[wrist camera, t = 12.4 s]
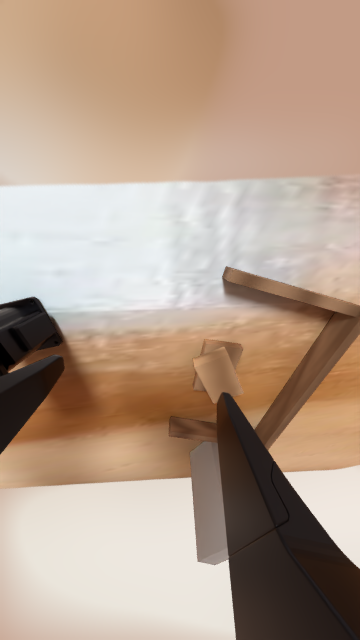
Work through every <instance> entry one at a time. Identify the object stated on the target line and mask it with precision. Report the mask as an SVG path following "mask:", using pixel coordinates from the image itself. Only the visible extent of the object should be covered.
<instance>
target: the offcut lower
mask: <svg viewBox="0 0 360 640" xmlns="http://www.w3.org/2000/svg"><path fill="white" fill-rule="evenodd" d="M221 347H225V349H226V351H227V353H228V355H229V358H230V360H231V362H232V365H233V367H234V370H235V369H236V367H237V364H238V361H239V359H240V356H241V353H242V351H243V347H242V346H241V344H238V343H231V342H223V341H216V340H208V339H204V343H203V347H202V351H201V354H200V356H201V355H203V354H206V353H208V352H211V351H214V350H216V349H219V348H221ZM193 389H194V390H197V391H206V389H205V387H204V385H203V383H202V381H201V379H200V377H199V376H198V374H197V372H196V374H195V377H194V381H193Z"/></svg>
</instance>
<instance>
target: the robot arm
mask: <svg viewBox="0 0 360 640" xmlns="http://www.w3.org/2000/svg"><path fill="white" fill-rule="evenodd" d="M32 300H33V301H34V303H33V302H32ZM57 341H58V342H57ZM61 343H62V339H61V338H60V336H59V334H58V333H57V331H56V329H55V328H54V326H53V324H52V322H51V321H50V319H49V317H48V316H47V314H46V312H45V311H44V309H43V307H42V306H41V304H40V302H39V301H38V299H37V298H35V297H29V298H25V299H21V300H17V301H13V302H8V303H4V304H0V454H1V453H2V452H3V451H4V449H5V448H6V447H7V446H8V444H9V443H10V442H11V441H12V439H13V438H14V437H15V436H16V434H17V433H18V432H19V431H20V429H21V428H22V427H23V426H24V424H25V423H26V422H27V421H28V419H29V418H30V417H31V416H32V414H33V413H34V412H35V411H36V409H37V408H38V407H39V406H40V404H41V403H42V402H43V401H44V399H45V398H46V397H47V395H48V394H49V392H50V391H51V389H52V388H53V386H54V385H55V383H56V382H57V380H58V379H59V377H60V376H61V374H62V373H63V371H64V367H65V366H64V360H63V357H62V356H59V355H52V356H50V357H47V358H45V359H42V360H40V361H38V362H35V363H33V364H30V365H28V366H25V367H23V368H21V369H18V370H16V371H13V372H11V373H8V372H9V371H10V370H11V369H13V368H14V367H15V366H16V365H18V364H19V363H20V362H22V361H23V360H24V359H25V358H27V357H28V356H29V355H31V354H32V353H33V352H34V351H36V350H41V349H45V348H50V347H54V346H59V345H60V344H61ZM217 443H218V454H219V464H220V475H221V485H222V495H223V506H224V516H225V527H226V537H227V547H228V556H229V558H228V559H229V569H230V580H231V590H232V601H233V611H234V622H235V632H236V640H360V569H359V568H358V567H357V566H356V565H355V564H354V563H353V562H351V561H350V559H349V558H347V556H346V555H345V554H344V553H343V552H342V551H341V550H340V549H339V548H338V546H337V545H336V544H335V543H334V541H333V540H332V539H331V538H330V537H329V535H328V534H327V532H326V531H325V530H324V528H323V527H322V526H321V524H320V523H319V522H318V520H317V519H316V518H315V516H314V515H313V514H312V513H311V511H310V510H309V508H308V507H307V506H306V504H305V503H304V502H303V501H302V499H301V498H300V496H299V495H298V494H297V492H296V491H295V490H294V488H293V487H292V486H291V484H290V483H289V481H288V480H287V479H286V477H285V476H284V474H283V473H282V471H281V470H280V468H279V467H278V465H277V464H276V462H275V461H274V460H273V458H272V456H271V455H270V453H269V452H268V450H267V449H266V447H265V446H264V444H263V443H262V441H261V440H260V438H259V437H258V435H257V434H256V432H255V431H254V429H253V428H252V426H251V425H250V423H249V422H248V420H247V419H246V417H245V416H244V414H243V413H242V411H241V410H240V408H239V406H238V405H237V403H236V402H235V400H234V399H233V397H232V396H231V394H230V393H227V392H222V393H221V395H220V397H219V399H218V401H217Z"/></svg>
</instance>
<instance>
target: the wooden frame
mask: <svg viewBox="0 0 360 640" xmlns="http://www.w3.org/2000/svg"><path fill="white" fill-rule="evenodd" d="M222 277H223V278H224V279H226V280H227V281H229V282H232V283H236V284H239V285H243V286H247V287H250V288H254V289H257V290H261V291H264V292H268V293H272V294H275V295H279V296H282V297H286V298H289V299H293V300H297V301H300V302H304V303H307V304H311V305H314V306H318V307H322V308H325V309H329V310H332V311H336V312H335V313H334V315H333V316H332V318H331V319H330V321H329V322H328V323H327V325H326V326H325V328H324V329H323V331H322V332H321V334H320V335H319V337H318V338H317V340H316V341H315V342H314V344H313V345H312V347H311V348H310V350H309V351H308V353H307V354H306V356H305V357H304V359H303V360H302V361H301V363H300V364H299V366H298V367H297V369H296V370H295V372H294V373H293V375H292V376H291V378H290V379H289V380H288V382H287V383H286V385H285V386H284V388H283V389H282V391H281V392H280V394H279V395H278V397H277V398H276V399H275V401H274V402H273V404H272V405H271V407H270V408H269V410H268V411H267V413H266V414H265V416H264V417H263V418H262V420H261V421H260V423H259V424H258V426H257V427H256V429H255V430H254V431H255V432H256V434H257V435H258V437H259V438H260V440H261V441H262V443H263V444H264V446H265V447H266V449H267V450H268V449H269V448H270V447H271V446H272V444H273V443H274V442H275V441H276V439H277V438H278V437H279V436H280V434H281V433H282V432H283V430H284V429H285V428H286V427H287V425H288V424H289V423H290V422H291V420H292V419H293V418H294V416H295V415H296V414H297V413H298V411H299V410H300V409H301V408H302V406H303V405H304V404H305V403H306V401H307V400H308V399H309V397H310V396H311V395H312V394H313V392H314V391H315V390H316V389H317V387H318V386H319V385H320V384H321V382H322V381H323V380H324V378H325V377H326V376H327V375H328V373H329V372H330V371H331V370H332V368H333V367H334V366H335V364H336V363H337V362H338V361H339V359H340V358H341V357H342V356H343V354H344V353H345V352H346V351H347V349H348V348H349V347H350V345H351V344H352V343H353V342H354V340H355V339H356V338H357V337H358V335H359V334H360V306H359V305H356V304H353V303H350V302H346V301H343V300H339V299H336V298H333V297H329V296H326V295H322V294H319V293H316V292H312V291H309V290H305V289H302V288H298V287H295V286H292V285H288V284H285V283H281V282H278V281H274V280H271V279H268V278H264V277H261V276H257V275H254V274H251V273H247V272H244V271H240V270H237V269H233V268H230V267H227V266H226V268H225V271H224V273H223V276H222ZM169 436H171V437H178V438H185V439H192V440H199V441H206V442H213V443H217V424H215V423H209V422H203V421H196V420H190V419H183V418H177V417H171V418H170V421H169Z"/></svg>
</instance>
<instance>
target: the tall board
mask: <svg viewBox="0 0 360 640" xmlns="http://www.w3.org/2000/svg"><path fill="white" fill-rule="evenodd" d="M190 464H191V477H192V491H193V504H194V518H195V531H196V546H197V559H198V562H203V563H208V564H212V565H216V564H219V563H221V562H223V561H226V560H228V558H229V556H228V547H227V537H226V527H225V516H224V506H223V495H222V485H221V475H220V464H219V454H218V443H213V442H206V441H204V442H203V443H201V444H200V445H199V446H197V447H196V448H195V449H194V450H192V451H191V452H190Z"/></svg>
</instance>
